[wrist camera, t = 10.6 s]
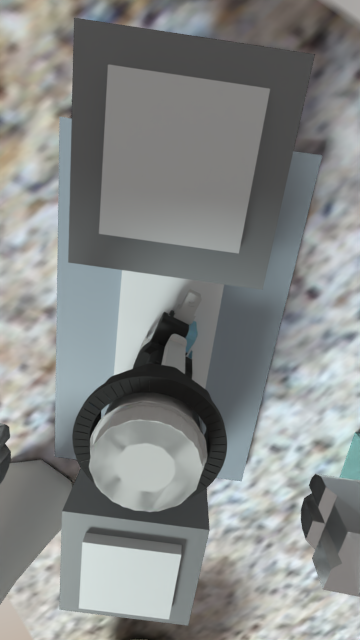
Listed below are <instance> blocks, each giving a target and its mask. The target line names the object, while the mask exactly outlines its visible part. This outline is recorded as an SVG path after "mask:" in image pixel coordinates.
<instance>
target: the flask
mask: <svg viewBox="0 0 360 640" xmlns="http://www.w3.org/2000/svg"><path fill="white" fill-rule="evenodd" d="M71 490H72V484H71V481H70V480H69V479H67V478H66V477H65V476H63V475H62V474H61V473H59V472H58V471H56V470H55V469H54V468H52V467H51V466H50V465H48V464H47V463H45V462H44V461H43V460H35V461H26V462H17V463H10V465H9V469H8V471H7V473H6V475H5V478H4V480H3V481H2V483H1V484H0V604H1V603H2V601H3V600H4V598H5V597H6V595H7V594H8V592H9V591H10V589H11V588H12V586H13V585H14V583H15V582H16V581H17V580H18V578H19V577H20V576H21V575H22V574H23V572H24V571H25V570H26V569H27V568H28V567H29V565H30V564H31V563H32V562H33V561H34V560H35V558H36V557H37V556H38V555H39V554H40V553H41V551H42V550H43V549H44V548H45V547H46V545H47V544H48V543H49V542H50V541H51V540H52V539H53V538H54V537H55V535H56V534H57V533H58V532H59V531H60V530H61V528H62V510H63V508H64V505H65V503H66V501H67V499H68V496H69V494H70V492H71Z"/></svg>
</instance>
